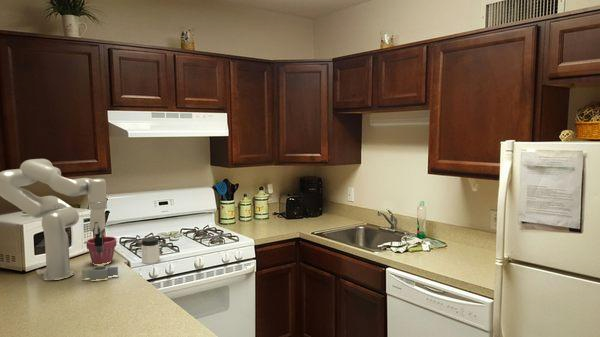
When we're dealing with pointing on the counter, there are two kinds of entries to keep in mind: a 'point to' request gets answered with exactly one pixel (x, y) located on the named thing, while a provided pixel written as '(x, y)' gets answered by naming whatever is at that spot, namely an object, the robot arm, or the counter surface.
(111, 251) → the plant pot
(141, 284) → the counter surface
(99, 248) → the hinge pin
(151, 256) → the jar
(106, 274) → the hinge
